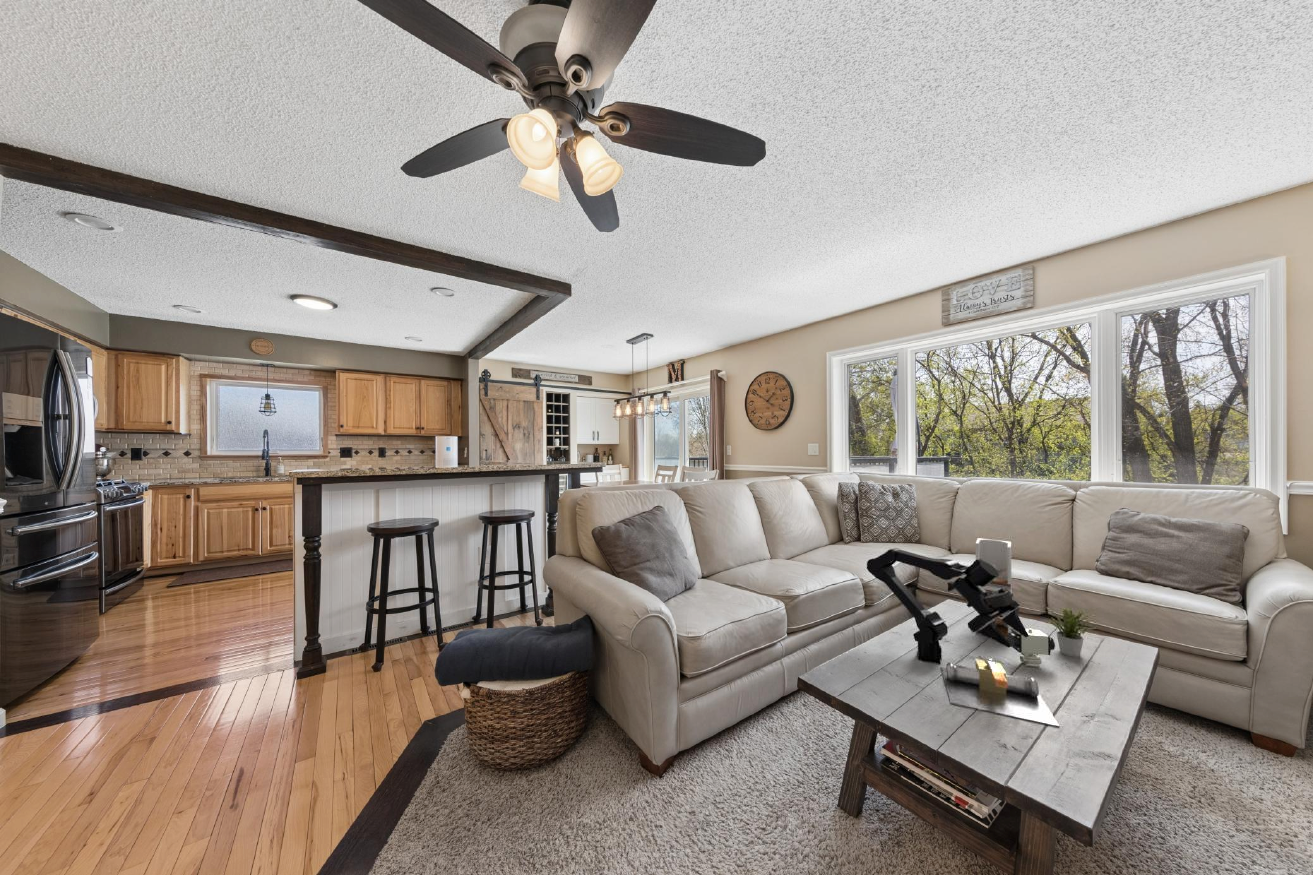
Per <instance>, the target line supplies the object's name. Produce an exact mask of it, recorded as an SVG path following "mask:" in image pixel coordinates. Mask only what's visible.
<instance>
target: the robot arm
mask: <svg viewBox="0 0 1313 875" xmlns="http://www.w3.org/2000/svg"><path fill="white" fill-rule="evenodd" d="M897 562H899V563H902V564H905V565H909V566H912V567H915V568H919V569H921V570H925V571H927V572H929V573H930V574H932V575H933V576H935V577H937V578H939V579H942V580H944V581H947V591H948V592H951V591H954V590H956V592H957V593H958V594H959V595H960V596H961V597H963V599H964V600H965V601H966V602H967V604H966V607H967V608H971V607H972V609H973V610H975V612H977V615H976V616H975V617H973V618H972V619H970V621H968V622H967V627H968V629H969V630H970V631H971V632H972V633H976V631H978V630H980V631H978V632H977V633H978V634H977V635H980V634H982V635H981V636H985V637H987V638H989V639H992V640H993V641H995V642H997V643H999V644H1001V645H1003V646H1005V647H1006V648H1012V647H1011V644H1010V643H1009V641H1008V640H1007V639H1006V638H1005V637H1004V636H1003V634H1002V633H1001V632H1000V631H999V630H998V629H997V627H996V622H995V621H993V622H991V620H992V619H994V618H996V617H998V616H999V617H1001V618H1002V617H1004V618H1003V619H1002V621H1003V622H1005V623H1006V624H1008V625H1009V626H1010V627H1012V628H1013V629H1014V630H1016V631H1017V632H1019V633H1020V634H1021V635H1023V636H1024V637H1028V636H1029V635H1028V633H1027V631H1026V629H1027V628H1025V625H1024V624H1023V622H1022V621H1021V619H1020V617H1019V611H1020V608H1019V607H1020V606H1021V605H1020V604H1019V603H1018V602H1017V601H1016V600H1015V599H1013V596H1014V593H1013V592H1012V593H1011V592H1010V591H1009V590H1008V589H1006V588H1001V589H999V590H998V593H997V594H994V595H991V594H990V593H989V592H987V591H986V592H983V591H982V590H981V589H980V588H979V587H978V586H981V587H985V586H986V585H988V584H989V583H990V582H992V581H993V580H994V579H995V578H997V577H998V576H999V573H998V571H997V570H996V569H995V568H994V567H993V566H992V565H990V564H988V563H986V562H984V561H982V560H981V559H976V558H975V560H974V561H973V562H972V563H971V564H970V565H969V566H968V565H964V564H960V563H959V561H957V560H955V559H948V558H934V557H933V558H932V557H930V556H929V557H928V556H925V555H922V554H917V553H915V552H910V551H907V550H903V549H901V548H898V547H895V548H889V549H887V551H885V552H884V553H882V554H881V555H877V557H874V558H869V559H868V560H867V561H866V569H867V571H868V573H870V574H871V575H872V576H873V577H874V578H875V579H877V580H878V581H881V582H883V583H884V584H885V585H886V586H887V587H888V588H889V590H890V591H891V592H892V593H893V594H894V596H895V598H897V599H898V600H899V601H900V603H901V604H902V605H903V607H905V609H906V610H907V611H908V613H910V614H911V615H912V617H913V618H914V620H915V625H916V628H918V630H917V631H916V632H915V633H913V638H914V641H915V642H917V651H916V655H917V660H918V661H922V662H928V663H932V664H936V665H937V664H938V665H940V664H941V661H942V656H943V655H942V652H943V651H942V646H941V645H940V642H939V641H942V640H943V638H944V637H945V636H947V635H948V629H949V627H948V626H947V624H946V620H944V619H943V618H942V617H941V616H940V614H939V613H938V612H937V611H933V612H931V611H929V610H927V609H926V608H925V606H924V605H923V604H922V603H921V602H920V601H919V600H918V598H916V597H915V596H914V594H913V593H912V592H911V591H910V590H909V589H908V588H907V586H906V585H905V584H904V582H902V581H901V580H900V578H899V577H898V576H897V575H896V572H895V568H894V566H893V565H894V564H895V563H897ZM964 575H965V576H964ZM961 576H964V577H961ZM955 578H956V579H955ZM952 579H955V580H954V581H949V580H952ZM994 612H995V613H994Z"/></svg>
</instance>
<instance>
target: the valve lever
mask: <svg viewBox="0 0 1313 875" xmlns="http://www.w3.org/2000/svg"><path fill="white" fill-rule="evenodd" d="M983 661H984V662H985V663H986V664H988V665H989V667H990V669H991V672H992V679H993V681H994V683H995V685H996V686H998V687H1004V688H1007V680H1006V678H1005V676H1004V674H1003V673H1000V672H999V670H998V668H997V666H996V663H997V660H996V659H995V658H993V657H990V656H985V657H984V660H983Z"/></svg>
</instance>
